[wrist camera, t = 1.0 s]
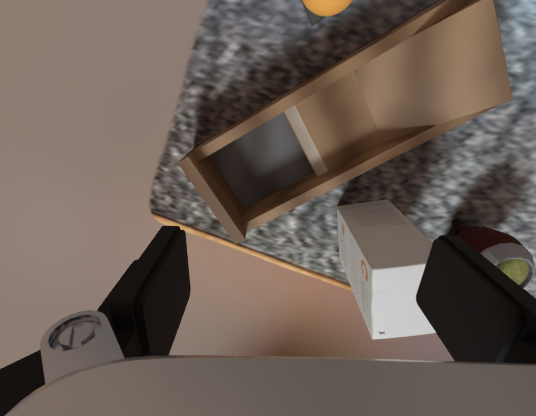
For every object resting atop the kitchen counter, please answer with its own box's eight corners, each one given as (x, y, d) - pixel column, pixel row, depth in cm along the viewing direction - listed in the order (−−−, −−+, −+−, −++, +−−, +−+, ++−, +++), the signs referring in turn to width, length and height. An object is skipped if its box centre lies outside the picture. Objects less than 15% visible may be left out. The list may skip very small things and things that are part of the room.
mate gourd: (493, 248, 37) (625, 347, 23) (433, 271, 39) (523, 376, 25) (483, 201, 34) (624, 282, 21) (418, 227, 36) (510, 319, 22)
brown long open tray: (441, -1, 26) (499, -28, 20) (467, 101, 30) (524, 107, 23) (193, 148, 32) (173, 166, 25) (240, 218, 35) (234, 250, 29)
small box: (387, 253, 37) (442, 334, 26) (338, 259, 38) (370, 342, 26) (389, 197, 34) (453, 260, 22) (335, 204, 35) (370, 269, 23)
